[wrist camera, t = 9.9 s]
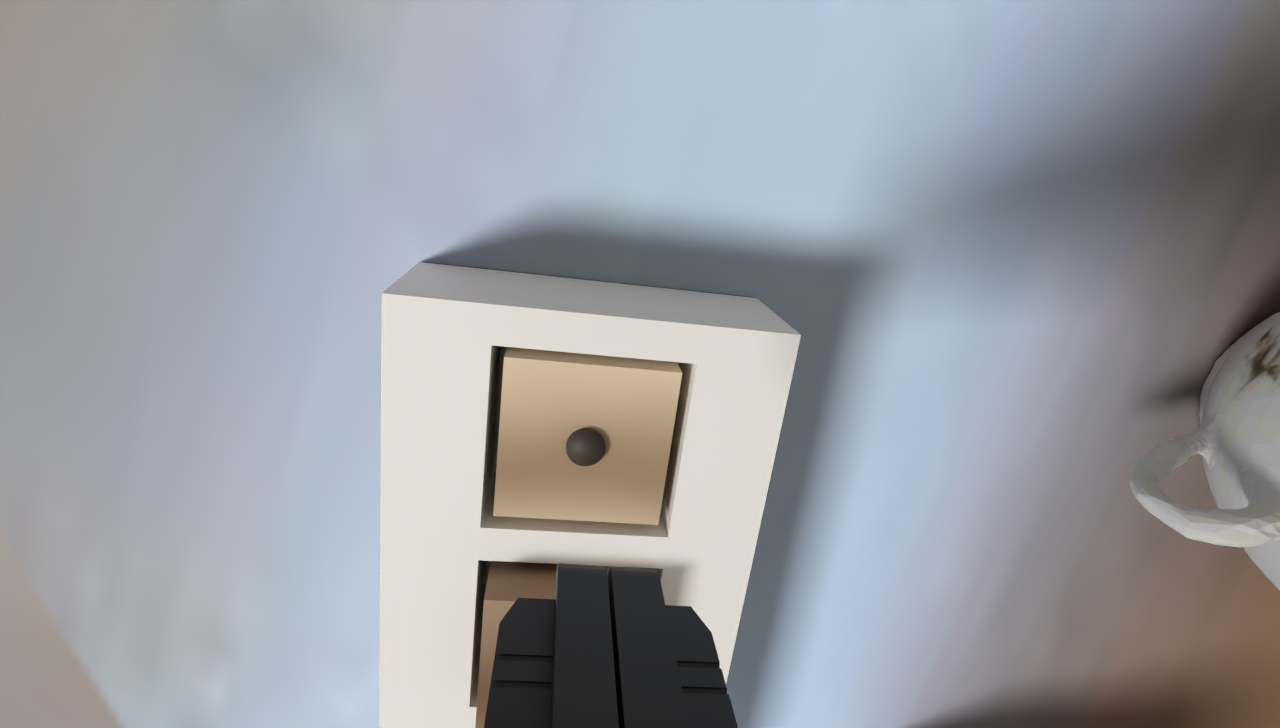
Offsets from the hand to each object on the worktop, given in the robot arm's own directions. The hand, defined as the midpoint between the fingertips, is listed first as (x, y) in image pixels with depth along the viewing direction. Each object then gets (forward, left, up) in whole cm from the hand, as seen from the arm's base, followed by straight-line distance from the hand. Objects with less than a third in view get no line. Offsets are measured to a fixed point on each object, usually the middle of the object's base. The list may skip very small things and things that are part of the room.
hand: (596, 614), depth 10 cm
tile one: (+1, 0, -10) cm, 10 cm away
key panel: (+7, 0, -11) cm, 13 cm away
